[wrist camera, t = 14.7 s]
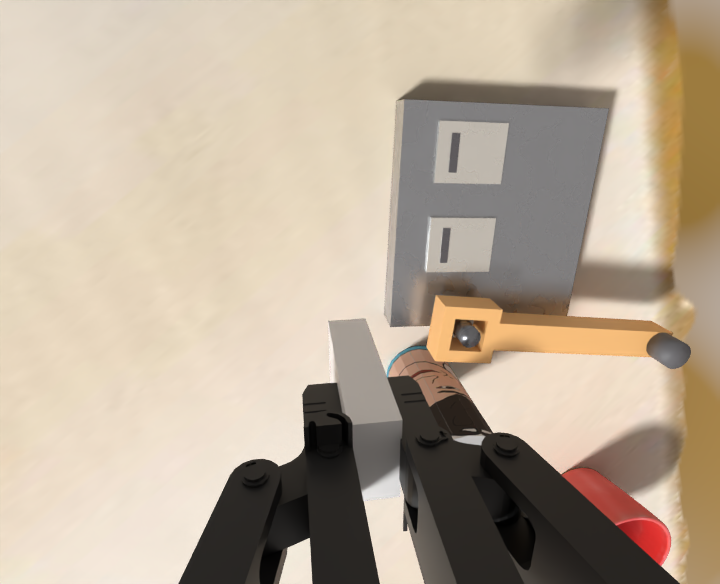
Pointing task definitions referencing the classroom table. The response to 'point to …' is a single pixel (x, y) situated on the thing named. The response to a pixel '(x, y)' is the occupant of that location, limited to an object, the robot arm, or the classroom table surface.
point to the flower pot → (623, 512)
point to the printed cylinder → (442, 394)
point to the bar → (545, 334)
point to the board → (488, 206)
